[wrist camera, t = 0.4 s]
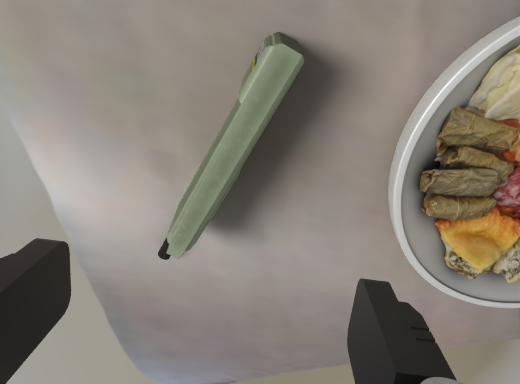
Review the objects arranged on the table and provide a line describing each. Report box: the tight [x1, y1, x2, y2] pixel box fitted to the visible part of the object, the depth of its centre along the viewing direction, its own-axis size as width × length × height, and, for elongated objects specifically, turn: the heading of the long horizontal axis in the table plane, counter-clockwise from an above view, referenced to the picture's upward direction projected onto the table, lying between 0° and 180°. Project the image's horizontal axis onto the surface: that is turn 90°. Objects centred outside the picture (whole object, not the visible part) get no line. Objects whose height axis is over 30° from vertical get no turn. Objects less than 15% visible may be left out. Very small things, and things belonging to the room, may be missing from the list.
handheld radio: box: [158, 32, 304, 260], centre depth 37 cm, size 7×3×25 cm
